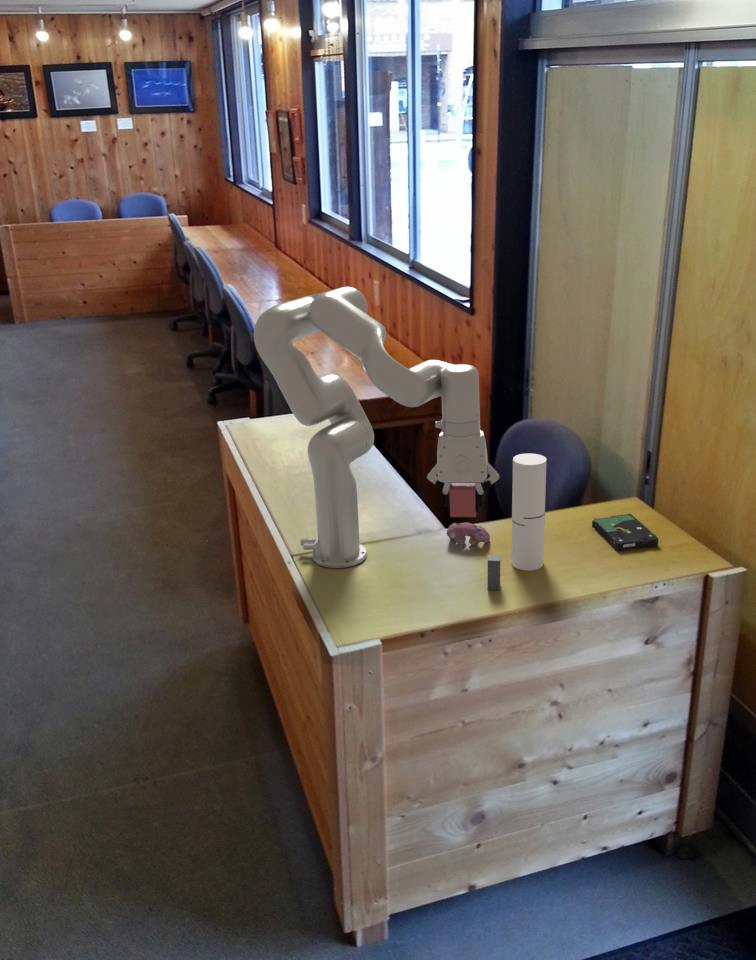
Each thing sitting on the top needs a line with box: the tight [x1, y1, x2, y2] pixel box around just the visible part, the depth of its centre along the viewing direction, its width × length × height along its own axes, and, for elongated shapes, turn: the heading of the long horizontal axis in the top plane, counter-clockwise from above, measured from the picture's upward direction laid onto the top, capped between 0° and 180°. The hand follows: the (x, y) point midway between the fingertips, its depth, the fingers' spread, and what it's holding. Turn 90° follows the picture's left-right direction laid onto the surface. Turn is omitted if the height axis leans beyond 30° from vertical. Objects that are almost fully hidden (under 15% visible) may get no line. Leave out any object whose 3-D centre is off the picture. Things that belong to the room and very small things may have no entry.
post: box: [487, 554, 501, 591], centre depth 198 cm, size 3×3×7 cm
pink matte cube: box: [449, 483, 477, 518], centre depth 192 cm, size 5×5×6 cm
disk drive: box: [591, 513, 659, 552], centre depth 220 cm, size 10×3×15 cm
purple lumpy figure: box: [446, 522, 491, 547], centre depth 219 cm, size 10×5×7 cm, turn 70°
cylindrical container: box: [510, 453, 547, 572], centre depth 205 cm, size 7×7×25 cm
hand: (464, 509), depth 193 cm, fingers closed on pink matte cube, 5 cm apart
